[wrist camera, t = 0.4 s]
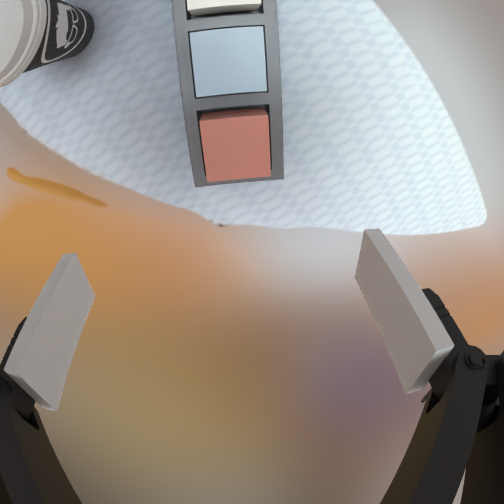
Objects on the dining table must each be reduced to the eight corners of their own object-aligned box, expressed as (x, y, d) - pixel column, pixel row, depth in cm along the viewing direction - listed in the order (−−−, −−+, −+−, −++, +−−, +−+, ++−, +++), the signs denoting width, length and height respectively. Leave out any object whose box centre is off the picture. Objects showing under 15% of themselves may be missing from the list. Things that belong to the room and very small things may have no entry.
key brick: (202, 113, 27) (199, 121, 24) (263, 107, 27) (268, 114, 24) (209, 167, 31) (207, 182, 28) (265, 162, 31) (270, 176, 28)
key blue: (194, 36, 22) (189, 32, 19) (258, 30, 22) (263, 26, 19) (200, 92, 26) (196, 97, 23) (262, 86, 26) (267, 91, 23)
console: (177, -34, 19) (169, -47, 15) (264, -41, 20) (271, -56, 16) (199, 170, 35) (195, 187, 31) (276, 162, 35) (283, 179, 31)
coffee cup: (73, -15, 18) (-4, -32, 6) (122, 21, 23) (54, 7, 11) (27, 47, 21) (-56, 64, 9) (71, 84, 26) (-9, 113, 14)
